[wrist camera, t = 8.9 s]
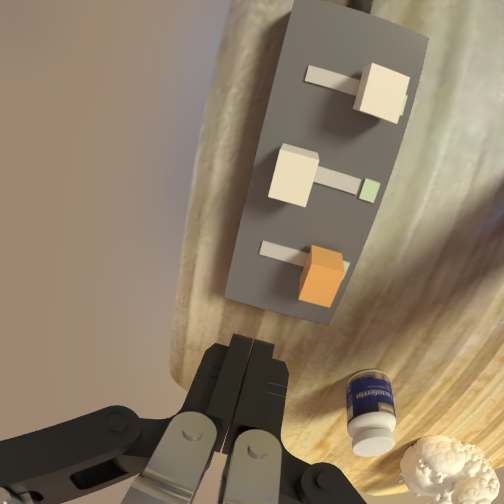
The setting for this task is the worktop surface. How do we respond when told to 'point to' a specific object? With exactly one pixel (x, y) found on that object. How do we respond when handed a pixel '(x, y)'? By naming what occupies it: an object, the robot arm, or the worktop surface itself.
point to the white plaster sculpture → (448, 471)
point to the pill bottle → (370, 413)
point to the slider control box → (321, 152)
